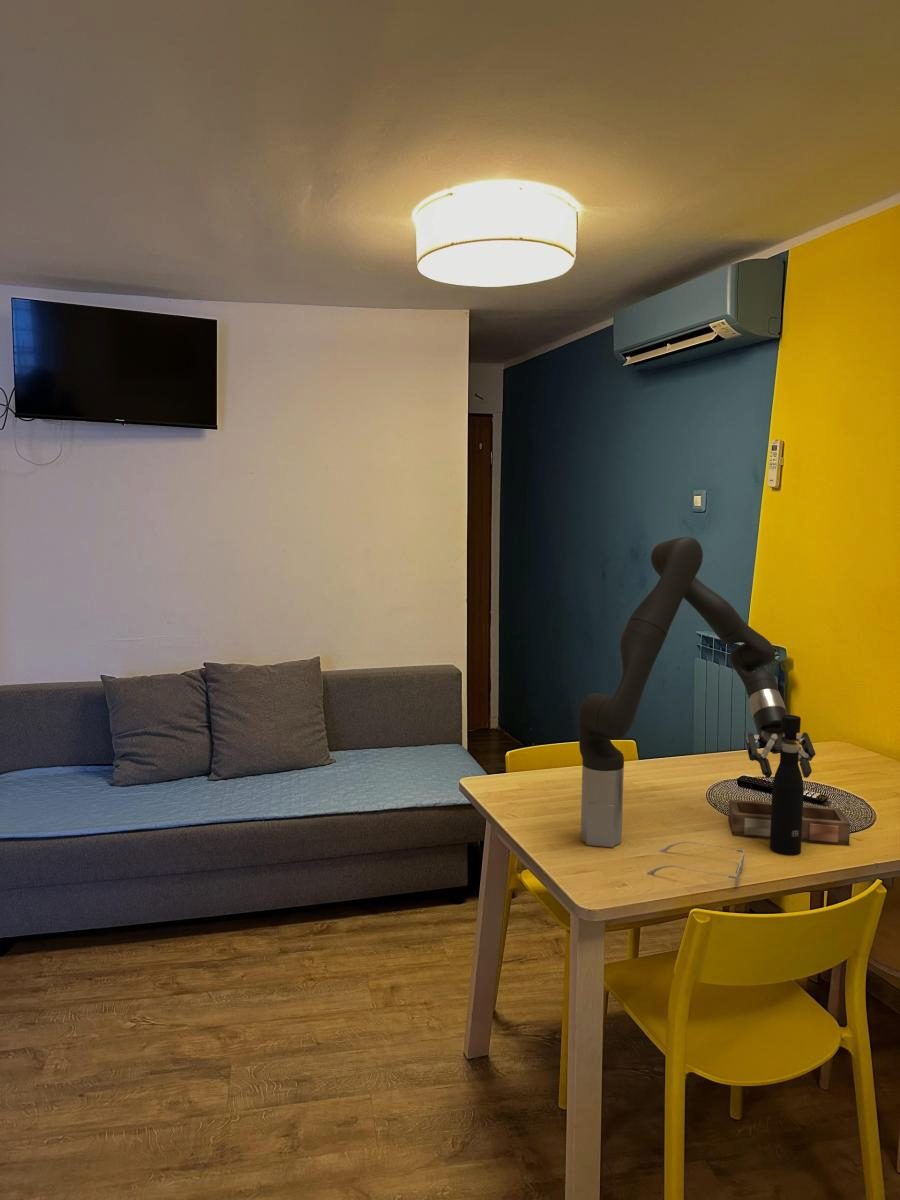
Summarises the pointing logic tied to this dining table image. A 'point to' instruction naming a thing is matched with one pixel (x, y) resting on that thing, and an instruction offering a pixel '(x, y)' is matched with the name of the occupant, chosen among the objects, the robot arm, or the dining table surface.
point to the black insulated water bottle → (787, 793)
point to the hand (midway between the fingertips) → (788, 776)
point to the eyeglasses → (702, 871)
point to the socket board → (815, 822)
